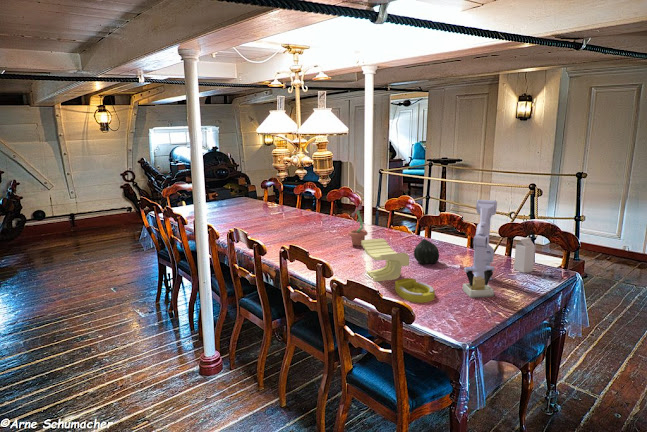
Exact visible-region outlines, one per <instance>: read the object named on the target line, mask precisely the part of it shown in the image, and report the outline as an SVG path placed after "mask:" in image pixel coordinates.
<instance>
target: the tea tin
mask: <svg viewBox="0 0 647 432" xmlns="http://www.w3.org/2000/svg"><path fill="white" fill-rule="evenodd" d="M484 288H485V279H484V278H483V277H481V276H476V277H473V286H472V290H484Z"/></svg>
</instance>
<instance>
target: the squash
mask: <svg viewBox="0 0 647 432" xmlns="http://www.w3.org/2000/svg"><path fill="white" fill-rule="evenodd" d="M413 256H414V258H415V260H416V261H417V262H418V263H420V264H423V265H425V264H428V263H429V264H436V263H437V262H438V261H439V258H440V252H439V248H438V247H437V246H436V244H434V243H432V242H431V241H430V240H428V239H425V238H424V239H422V240H421V241H420V242H419V243H418V244H417V245H416V246H415V248H414V250H413Z"/></svg>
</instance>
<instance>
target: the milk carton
mask: <svg viewBox="0 0 647 432" xmlns="http://www.w3.org/2000/svg"><path fill="white" fill-rule="evenodd" d="M514 248H515V250H514V251H515V252H514V262H513V270H515V271H517V272H518V271H519V272H521V273H523V274H525V273H529V272H530V273H531V272H533V271H534V263H535V262H534V261H535V251H536V245H535V244H534V243H533V241H532V238H531V237H526V238H521V239H520V241H519V242H517V243H516V244H515V247H514Z"/></svg>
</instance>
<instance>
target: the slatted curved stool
mask: <svg viewBox="0 0 647 432" xmlns="http://www.w3.org/2000/svg"><path fill="white" fill-rule="evenodd" d="M361 247H362V248H363V249H364V252H366V255H368V256H369V257H370V258H372V260H374V261H385V266H384V267H382V268H379V269H374V270H373V269H372V270H368V271H366V275H367V274H368V275H369V276H370V277H371V278H370V277H369V276H368V275H367V276H368V277H369V278H370V279H372V278H373V279H372V281H374V282H375V281H377V282H382V281H384V282H385V281H391V280H392V281H393V280H399V278H400V276H401V273H402V267H408V266H410V256H409V254H408V253H407V252H398V253H397V251H395V250H394V249H392V247H391V246H390V245H389V243H388V241H387V240H386V239H384V238H373V239H371V238H370V239H365V240H361Z"/></svg>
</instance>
